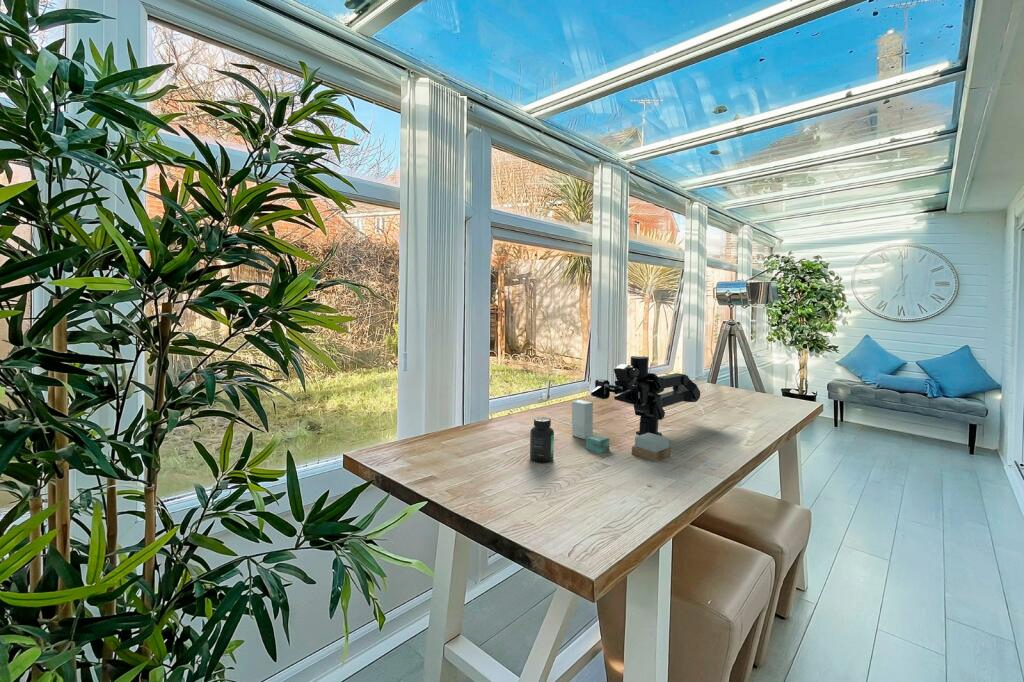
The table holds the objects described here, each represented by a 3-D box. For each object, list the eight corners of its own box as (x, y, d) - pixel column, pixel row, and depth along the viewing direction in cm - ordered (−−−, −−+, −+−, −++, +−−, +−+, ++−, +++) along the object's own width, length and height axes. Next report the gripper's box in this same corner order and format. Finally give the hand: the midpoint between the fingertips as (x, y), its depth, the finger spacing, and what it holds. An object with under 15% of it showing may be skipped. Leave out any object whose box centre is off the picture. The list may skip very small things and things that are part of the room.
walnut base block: (647, 450, 143) (647, 441, 143) (670, 457, 137) (670, 448, 137) (631, 455, 138) (631, 446, 138) (654, 463, 132) (655, 453, 132)
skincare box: (593, 437, 154) (594, 402, 153) (584, 440, 151) (585, 404, 150) (579, 433, 159) (580, 399, 158) (570, 435, 156) (571, 400, 155)
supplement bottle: (558, 461, 131) (559, 420, 130) (538, 465, 128) (539, 423, 127) (544, 454, 137) (545, 414, 136) (525, 457, 134) (525, 417, 133)
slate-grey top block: (648, 441, 142) (648, 432, 142) (668, 447, 137) (669, 438, 137) (634, 446, 138) (635, 436, 138) (655, 452, 132) (655, 442, 132)
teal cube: (596, 446, 146) (597, 434, 145) (609, 450, 142) (609, 438, 141) (586, 449, 142) (586, 437, 142) (598, 453, 139) (599, 441, 138)
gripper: (610, 362, 158) (579, 367, 148) (658, 366, 143) (627, 372, 134) (611, 394, 159) (580, 401, 149) (658, 401, 144) (628, 410, 135)
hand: (602, 395), depth 142 cm, fingers open, 9 cm apart
